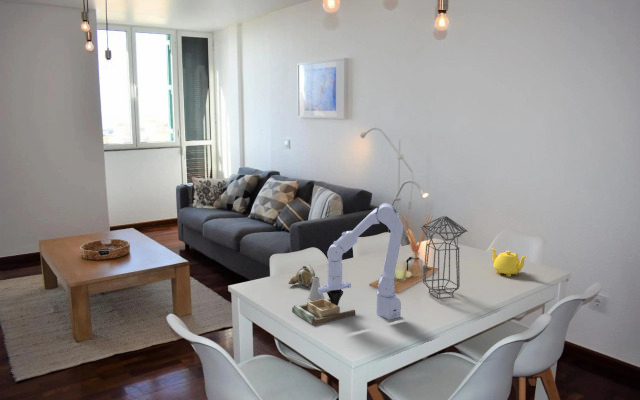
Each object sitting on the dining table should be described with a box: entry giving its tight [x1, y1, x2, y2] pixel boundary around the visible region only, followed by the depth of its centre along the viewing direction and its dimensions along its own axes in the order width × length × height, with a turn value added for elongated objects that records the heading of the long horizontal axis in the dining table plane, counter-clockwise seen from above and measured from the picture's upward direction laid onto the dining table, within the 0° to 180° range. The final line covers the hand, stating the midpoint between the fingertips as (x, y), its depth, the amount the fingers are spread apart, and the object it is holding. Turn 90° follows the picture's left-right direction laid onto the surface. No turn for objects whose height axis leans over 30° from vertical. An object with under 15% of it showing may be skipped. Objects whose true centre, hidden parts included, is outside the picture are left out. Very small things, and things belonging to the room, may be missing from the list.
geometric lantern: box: [420, 215, 469, 299], centre depth 231 cm, size 16×16×35 cm
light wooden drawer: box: [306, 298, 341, 318], centre depth 209 cm, size 11×8×4 cm
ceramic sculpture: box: [288, 264, 316, 287], centre depth 247 cm, size 11×9×15 cm
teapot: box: [490, 247, 528, 278], centre depth 264 cm, size 20×15×12 cm
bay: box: [291, 298, 356, 326], centre depth 209 cm, size 16×19×4 cm
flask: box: [307, 275, 325, 301], centre depth 225 cm, size 7×7×10 cm
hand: (334, 307), depth 212 cm, fingers closed
